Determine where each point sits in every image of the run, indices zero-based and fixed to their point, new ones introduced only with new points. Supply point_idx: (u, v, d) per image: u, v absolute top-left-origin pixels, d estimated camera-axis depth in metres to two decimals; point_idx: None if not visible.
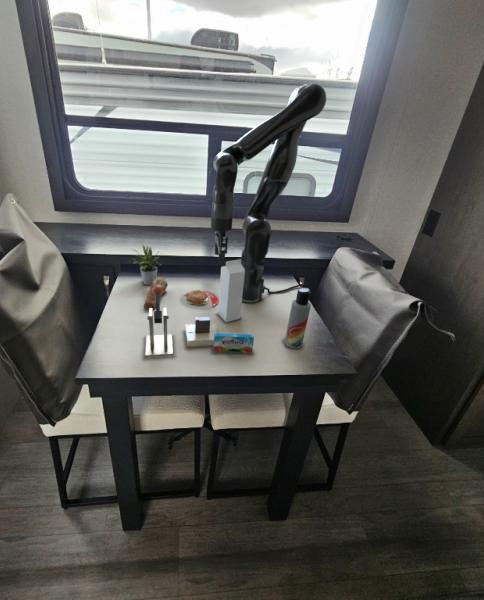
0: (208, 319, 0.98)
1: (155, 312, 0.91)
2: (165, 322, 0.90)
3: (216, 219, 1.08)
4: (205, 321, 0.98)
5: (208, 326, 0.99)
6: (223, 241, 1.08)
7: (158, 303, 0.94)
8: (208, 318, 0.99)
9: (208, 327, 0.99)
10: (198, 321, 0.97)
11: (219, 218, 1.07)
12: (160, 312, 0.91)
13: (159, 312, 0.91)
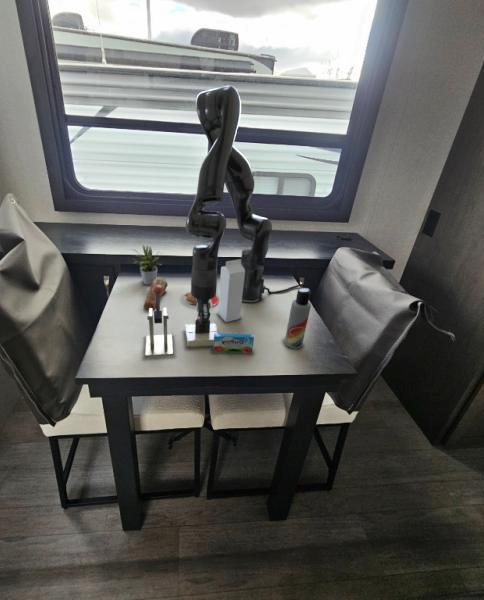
0: None
1: (155, 312, 0.91)
2: (165, 322, 0.90)
3: (196, 287, 0.89)
4: None
5: (208, 326, 0.99)
6: (204, 317, 0.91)
7: (158, 303, 0.94)
8: None
9: (208, 327, 0.99)
10: (198, 321, 0.97)
11: (200, 286, 0.89)
12: (160, 312, 0.91)
13: (159, 312, 0.91)
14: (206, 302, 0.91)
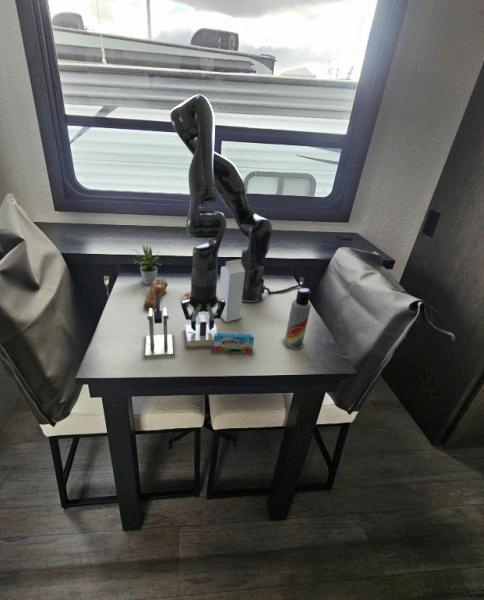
0: (203, 315, 1.00)
1: (155, 312, 0.91)
2: (165, 322, 0.90)
3: (214, 286, 0.91)
4: (205, 318, 0.99)
5: None
6: None
7: (158, 303, 0.94)
8: (201, 315, 1.00)
9: None
10: None
11: (216, 283, 0.91)
12: (160, 312, 0.91)
13: (159, 312, 0.91)
14: None
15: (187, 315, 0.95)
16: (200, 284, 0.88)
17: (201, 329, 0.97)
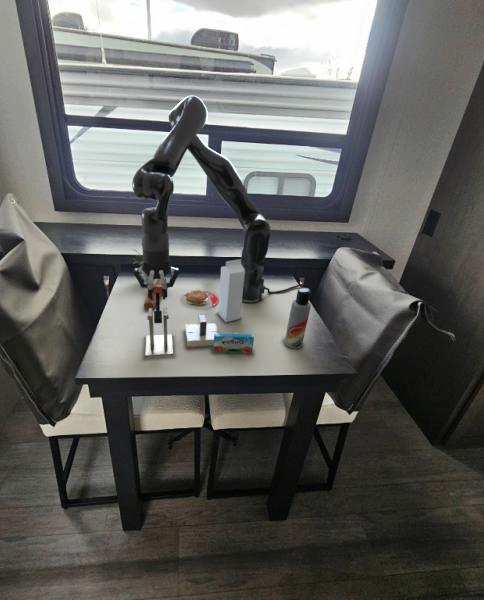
0: (203, 315, 1.00)
1: (155, 312, 0.91)
2: (165, 322, 0.90)
3: (165, 251, 0.89)
4: (205, 318, 0.99)
5: None
6: None
7: (158, 303, 0.94)
8: (201, 315, 1.00)
9: None
10: None
11: (167, 248, 0.90)
12: (160, 312, 0.91)
13: (159, 312, 0.91)
14: None
15: (142, 283, 0.94)
16: (150, 248, 0.87)
17: (201, 329, 0.97)
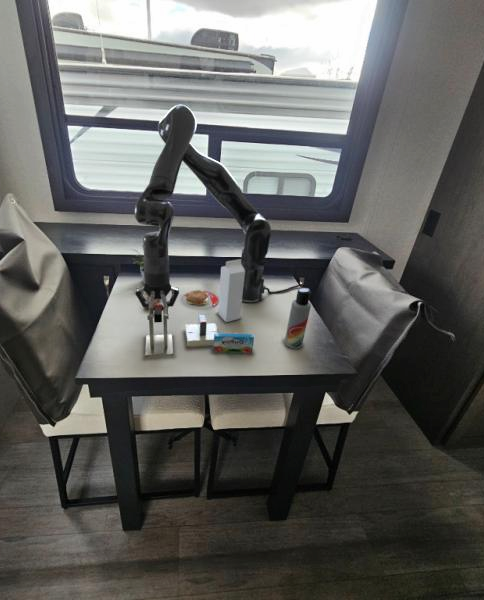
0: (203, 315, 1.00)
1: (155, 312, 0.92)
2: (165, 322, 0.90)
3: (166, 273, 0.93)
4: (205, 318, 0.99)
5: None
6: None
7: (158, 311, 0.96)
8: (201, 315, 1.00)
9: None
10: None
11: (168, 270, 0.94)
12: (160, 312, 0.92)
13: (159, 312, 0.92)
14: (169, 283, 0.98)
15: (143, 303, 0.98)
16: (151, 271, 0.91)
17: (201, 329, 0.97)
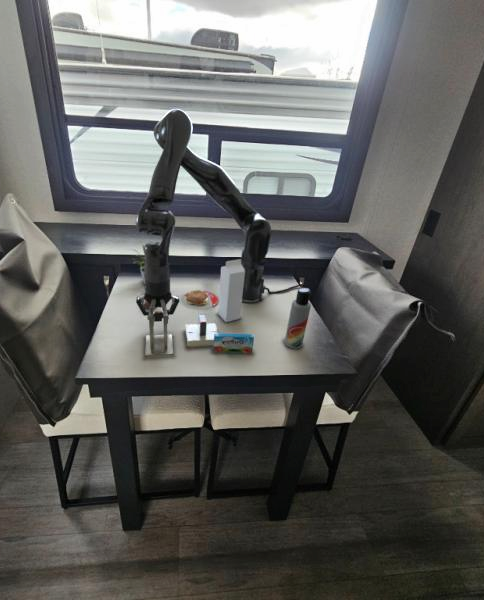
0: (203, 315, 1.00)
1: None
2: (165, 322, 0.90)
3: (167, 282, 0.94)
4: (205, 318, 0.99)
5: None
6: None
7: None
8: (201, 315, 1.00)
9: None
10: None
11: (169, 279, 0.94)
12: None
13: None
14: None
15: (144, 311, 0.98)
16: (152, 280, 0.91)
17: (201, 329, 0.97)
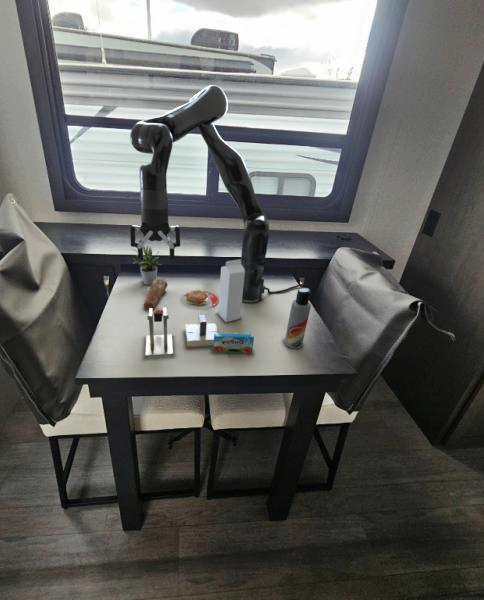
0: (203, 315, 1.00)
1: None
2: (165, 322, 0.90)
3: (164, 210, 0.87)
4: (205, 318, 0.99)
5: None
6: None
7: None
8: (201, 315, 1.00)
9: None
10: None
11: (167, 207, 0.87)
12: (160, 312, 0.92)
13: (159, 312, 0.92)
14: None
15: (133, 241, 0.90)
16: (148, 206, 0.84)
17: (201, 329, 0.97)
